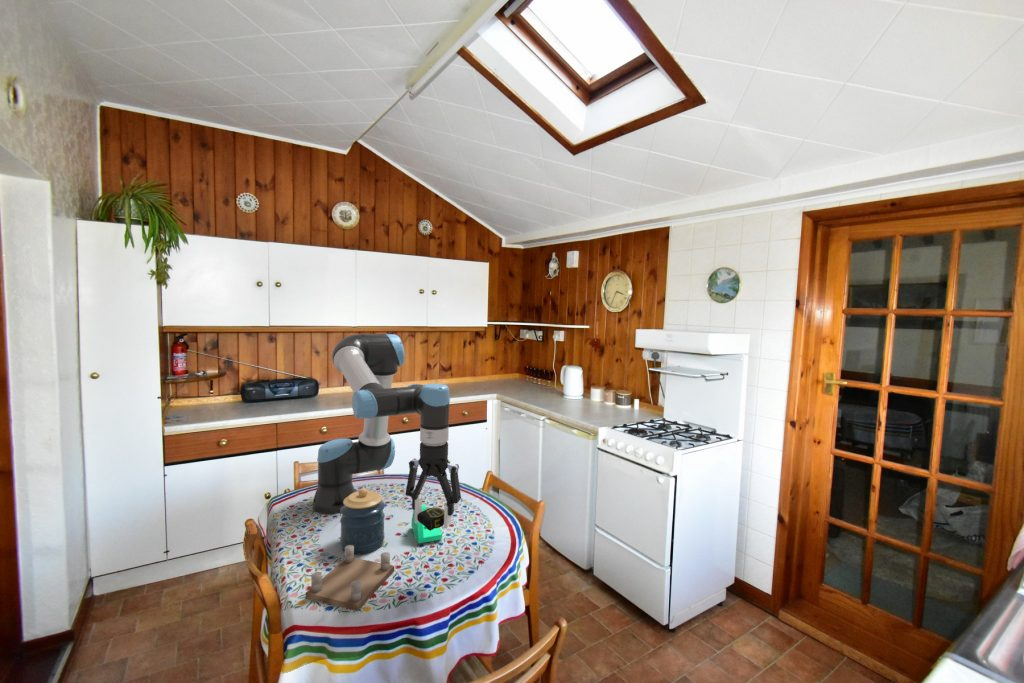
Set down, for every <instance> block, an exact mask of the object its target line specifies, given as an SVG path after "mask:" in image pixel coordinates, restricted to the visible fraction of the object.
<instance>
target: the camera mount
mask: <svg viewBox="0 0 1024 683" xmlns="http://www.w3.org/2000/svg"><path fill="white" fill-rule="evenodd" d="M426 509H428V508H427V505H426V503H422V511H425V510H426ZM411 528H412V530H413V535H414V538H415V541H417V543H418V544H423V543H428V542H435V541H440V540H442V539H443V532H442V529H441V527H440V528H434V529H433V530H431V531H430V530H428V529H427V528H426V527H425V526H424V525H423V524H421V523H420V522H418V523H415V510H413V513H412V516H411Z"/></svg>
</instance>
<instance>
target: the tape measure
mask: <svg viewBox="0 0 1024 683" xmlns="http://www.w3.org/2000/svg"><path fill="white" fill-rule="evenodd" d="M417 519H418V521H419V522H420V523H421V524H423V525H424V526H425V527H426V528H427V529H428V530H430V531H431V530H433V529H434V528H440V529H441V527H444V509H442V508H440V507H429V508H427V509H426V510H425V511H422V512H420V513H419V514H418V515H417Z"/></svg>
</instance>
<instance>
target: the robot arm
mask: <svg viewBox="0 0 1024 683" xmlns="http://www.w3.org/2000/svg"><path fill="white" fill-rule="evenodd" d="M404 348H405V347H404V344H403V341H402V339H401V338H400V336H399V335H397V334H390V333H371V334H370V333H369V334H368V333H367V334H365V333H363V334H361V333H355V334H350V335H347V336H345V337H344V338H342V339H340V341H338V342H337V344H336V345H335V346H334V348H333V349H332V350H333V351H332V354H331V360H332V361H331V362H332V363H333V366H334V368H335V369H336V370H337V371H338V372H339V373H341V374H342V375H343V377H344V379H345V380H346V382H347V383H348V385H349V387H350V389H351V391H352V392H353V394H352V398H351V406H352V407H351V408H352V413H353V415H354V417H355V418H356V419H361V420H362V419H364V421H363V431H362V432H361V433H360V434H359V435H358V441H352V439H350V438H347V437H346V438H336V439H332V440H329V441H327V442H325V443H323V444H322V445H320V446H319V448H318V451H317V461H316V462H317V488H316V491H315V493H314V496H313V498H312V510H313V511H314V512H317V513H319V514H327V515H329V514H338V513H341V512H340V509H341V507H342V506H343V505H344V503H343V501H344V499H345V498H346V497H348V496H349V495H350V494H352V493H354V492H356V490H355V487H354V484H353V475H357V474H363V473H368V472H369V473H371V472H374V471H375V472H376V471H378V472H379V471H381V470H385V469H388V468H390V467H391V466H392V464H393V463H394V460H395V456H396V445H395V441H394V439H393V438H392V437H391V435H390V434H389V433H388V429H389V428H388V427H389V417H390V416H401V415H411V414H418V415H420V419H419V420H420V421H419V425H420V427H419V428H420V430H419V432H420V434H419V440H420V444H419V459H417V458H413V459H411V460H410V461H409V462H408V465H409V466H408V468H409V471H408V472H409V473H408V477H407V478H408V479H407V481H406V482H407V483H406V488H405V496H407V497H410V498H411V509H412V510H413V511H414V510H415V523H418V522H419V521H418V519H417V515H418V514H419V513H420V512H422V505H423V496H421V492H422V490H423V487H424V486H425V484H426V481H427V478H429V477H433V478H436V479H437V482H439V485H440V488H441V489H442V492H443V495H444V498H445V500H446V503H445V504H444V507H443V508H444V509H443V510H444V525H443V529H447V528H449V526H450V525H451V522H452V520H451V519H452V518H451V517H452V516H453V515H454V513H455V504H458V503H459V502H460V501H461V499H462V495H461V494H462V492H461V488H460V481H459V480H460V478H459V468H460V466H459V464H458V463H455V464H453V463H450V462H449V457H448V455H449V442H448V441H449V424H450V422H449V420H450V402H451V398H450V388H449V386H448V385H447V384H444V383H434V382H433V383H426V384H421V383H411V384H409V385H408V386H402V387H392V384H393V377H394V376H395V375H396V374H397V373H398V368H399V367H402V366H403V365H404V364H405V355H406V354H405V349H404ZM418 467H420V468H421V470H422V471H421V473H420V476H419V478H418V481H417V483H416V480H417V475H418V474H417V473H418V470H419V469H418ZM447 469H448V473H449V474H450V476H449V477H450V482H449V479H448V474H447V471H446V470H447ZM415 484H416V485H415Z"/></svg>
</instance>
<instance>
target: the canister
mask: <svg viewBox="0 0 1024 683" xmlns="http://www.w3.org/2000/svg"><path fill="white" fill-rule="evenodd" d="M343 503H344V505H343V506H342V507H341V509H340V512H339V513H341V517H340V518H339V519H340V520H339V522H340V539H339V540H340V541H339V544H340V548H341V551H343V552H344V553H345V547H346V546H348V545H353V546H354V555H364V554H365V555H366V554H368V553H372V552H375V551H377V550H378V549H380V548H381V547H382V546H383V544H384V542H385V541H384V540H385V516H386V515H385V512H384V509H385V506H386V504H385V502H384V501H383V496H382V495H381V494H379V493H377V492H376V491H374V490H368V489H367V488H365V487H362V488H360V489H359V490H358V491H355V492H354V493H352V494H350V495H349V496H348V497H346V498H345V499H344V501H343Z"/></svg>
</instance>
